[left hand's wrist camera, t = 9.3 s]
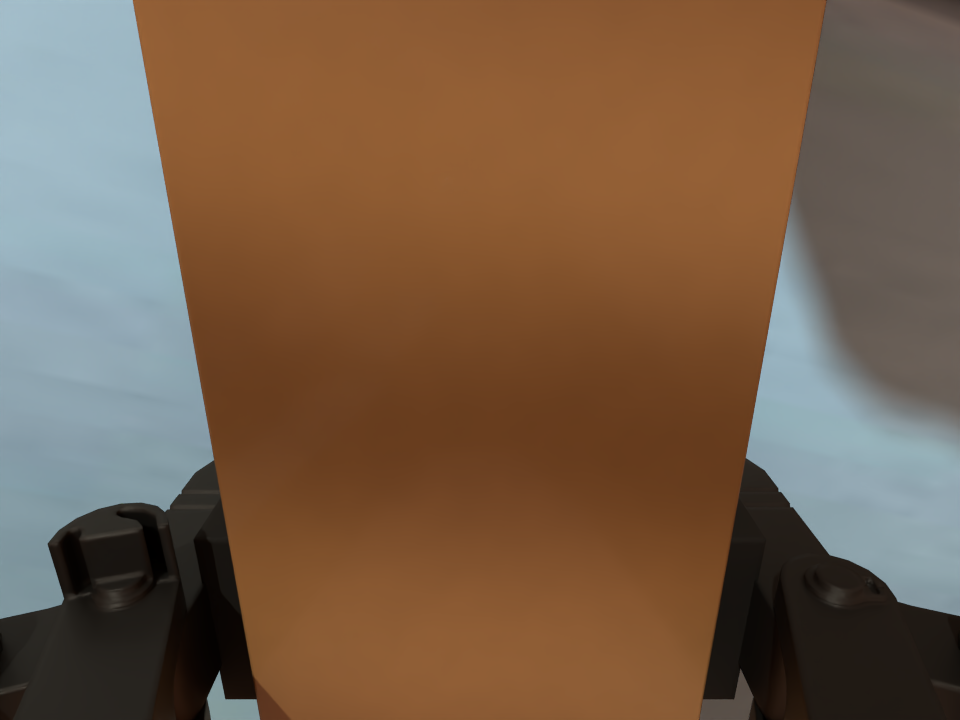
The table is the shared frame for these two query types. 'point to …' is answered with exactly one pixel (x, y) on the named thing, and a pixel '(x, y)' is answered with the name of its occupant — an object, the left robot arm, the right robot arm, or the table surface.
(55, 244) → the table surface
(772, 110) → the post
